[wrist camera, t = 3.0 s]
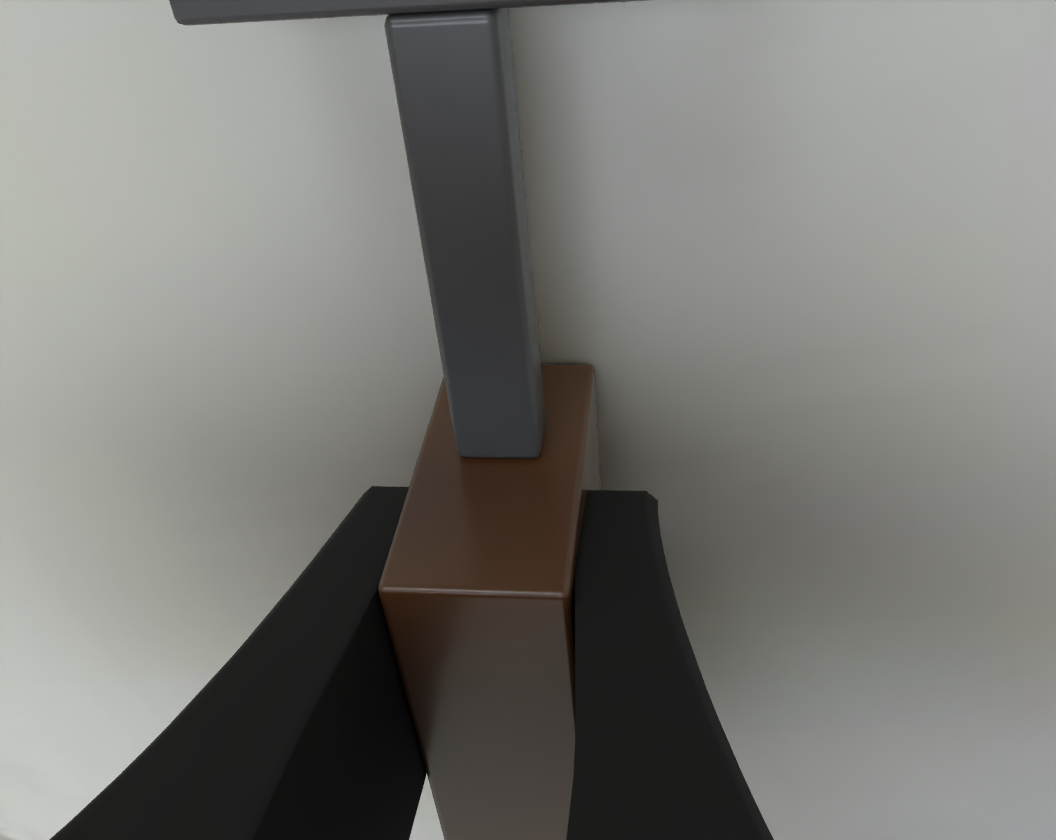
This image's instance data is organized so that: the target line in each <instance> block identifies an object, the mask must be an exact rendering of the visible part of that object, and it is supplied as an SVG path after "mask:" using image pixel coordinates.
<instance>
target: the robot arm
mask: <svg viewBox="0 0 1056 840" xmlns="http://www.w3.org/2000/svg"><path fill="white" fill-rule="evenodd" d="M408 490H409V487H379V486H372V487H371V488H370V489H369V490H367V491H366V492H365V493H364V494H363V495H362V497H361V498H360V499H359V501H358V502H357V503H356V504H355V506H354V507H353V508H352V510H351V511H350V512H349V514H348V515H347V516H346V517H345V519H344V520H343V521H342V523H341V524H340V525H339V527H338V528H337V529H336V530H335V532H334V533H333V534H332V536H331V537H330V538H329V539H328V541H327V542H326V543H325V545H324V546H323V547H322V548H321V550H320V551H319V552H318V554H317V555H316V556H315V557H314V559H313V560H312V561H311V562H310V564H309V565H308V566H307V567H306V569H305V570H304V571H303V572H302V574H301V575H300V576H299V577H298V579H297V580H296V581H295V582H294V584H293V585H292V586H291V587H290V589H289V590H288V591H287V592H286V593H285V595H284V596H283V597H282V598H281V599H280V601H279V602H278V603H277V604H276V605H275V607H274V608H273V609H272V610H271V611H270V613H269V614H268V615H267V616H266V617H265V618H264V620H263V621H262V622H261V623H260V624H259V626H258V627H257V628H256V629H255V630H254V632H253V633H252V634H251V635H250V636H249V637H248V639H247V640H246V641H245V642H244V643H243V645H242V646H241V647H240V648H239V649H238V650H237V652H236V653H235V654H234V655H233V656H232V657H231V658H230V660H229V661H228V662H227V663H226V664H225V665H224V666H223V667H222V668H221V669H220V671H219V672H218V673H217V674H216V675H215V676H214V677H213V678H212V679H211V680H210V681H209V682H208V684H207V685H206V686H205V687H204V688H203V689H202V690H201V691H200V692H199V693H198V694H197V695H196V696H195V698H194V699H193V700H192V701H191V702H190V703H189V704H188V705H187V706H186V707H185V708H184V709H183V711H182V712H181V713H180V714H179V715H178V716H177V717H176V718H175V719H174V720H173V721H172V722H171V724H170V725H169V726H168V727H167V728H166V729H165V730H164V731H163V732H162V733H161V734H160V735H159V736H158V737H157V738H156V739H155V740H154V741H153V742H152V743H151V744H150V745H149V746H148V747H147V748H146V749H145V750H144V751H143V752H142V753H141V754H140V755H139V756H138V757H137V758H136V759H135V760H134V761H133V762H132V763H131V764H130V765H129V766H128V767H127V768H126V769H125V770H124V771H123V772H122V773H121V774H120V775H119V776H118V777H117V778H116V779H115V780H114V781H113V782H112V783H111V784H109V785H108V786H107V787H106V788H105V789H104V790H103V791H102V792H101V793H100V794H99V795H98V796H97V797H96V798H95V799H94V800H92V801H91V802H90V803H89V804H88V805H87V806H86V807H85V808H84V809H83V810H82V811H81V812H80V813H79V814H78V815H77V816H75V817H74V818H73V819H72V820H71V821H70V822H69V823H68V824H67V825H66V826H64V827H63V828H62V829H61V830H60V831H59V832H58V833H56V834H55V835H54V836H53V837H52V838H51V839H50V840H409V837H410V834H411V830H412V826H413V822H414V819H415V815H416V811H417V807H418V804H419V800H420V796H421V792H422V789H423V785H424V781H425V777H426V773H427V772H426V768H425V764H424V760H423V757H422V753H421V749H420V745H419V742H418V738H417V734H416V730H415V727H414V723H413V719H412V715H411V712H410V708H409V704H408V701H407V697H406V693H405V689H404V686H403V682H402V678H401V674H400V671H399V667H398V663H397V659H396V656H395V652H394V648H393V644H392V641H391V637H390V633H389V630H388V626H387V622H386V618H385V615H384V611H383V607H382V603H381V600H380V596H379V592H378V586H379V583H380V580H381V577H382V573H383V570H384V567H385V564H386V560H387V557H388V554H389V551H390V548H391V544H392V541H393V538H394V535H395V531H396V528H397V525H398V522H399V519H400V515H401V512H402V509H403V506H404V502H405V499H406V496H407V493H408ZM575 714H576V732H575V753H574V774H573V785H572V794H571V802H570V811H569V820H568V829H567V837H566V840H774V839H773V837H772V835H771V833H770V831H769V829H768V827H767V825H766V823H765V821H764V819H763V817H762V815H761V813H760V811H759V809H758V806H757V804H756V802H755V800H754V798H753V796H752V794H751V792H750V789H749V787H748V785H747V783H746V781H745V779H744V776H743V774H742V772H741V770H740V768H739V765H738V763H737V761H736V758H735V756H734V754H733V751H732V749H731V747H730V744H729V742H728V740H727V737H726V735H725V733H724V730H723V728H722V726H721V723H720V721H719V719H718V716H717V714H716V711H715V709H714V706H713V704H712V701H711V699H710V696H709V694H708V691H707V689H706V686H705V683H704V680H703V678H702V675H701V672H700V669H699V667H698V664H697V661H696V658H695V655H694V653H693V650H692V647H691V644H690V641H689V639H688V636H687V633H686V630H685V627H684V624H683V621H682V618H681V615H680V611H679V608H678V605H677V602H676V598H675V594H674V591H673V587H672V583H671V580H670V576H669V572H668V569H667V564H666V560H665V555H664V551H663V546H662V540H661V535H660V527H659V519H658V500H656V499H655V498H654V497H653V496H652V495H650V494H649V493H648V492H647V491H609V490H588V492H587V497H586V503H585V508H584V514H583V520H582V526H581V533H580V539H579V546H578V553H577V560H576V567H575Z"/></svg>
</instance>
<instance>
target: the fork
mask: <svg viewBox="0 0 1056 840" xmlns="http://www.w3.org/2000/svg"><path fill="white" fill-rule="evenodd" d="M169 1H170V4H171V7H172V11H173V14H174V17H175V19H176V21H177V22H178V23H180V24H183V25H204V24H222V23H240V22H259V21H277V20H295V19H314V18H332V17H351V16H369V15H387V14H389V15H388V16H387V17H386V21H385V32H386V37H387V43H388V49H389V55H390V61H391V67H392V73H393V79H394V84H395V90H396V96H397V102H398V108H399V114H400V120H401V126H402V132H403V137H404V143H405V149H406V155H407V161H408V167H409V173H410V179H411V184H412V190H413V196H414V202H415V208H416V214H417V220H418V226H419V231H420V237H421V243H422V249H423V255H424V261H425V267H426V273H427V279H428V284H429V290H430V296H431V302H432V308H433V314H434V320H435V326H436V331H437V337H438V343H439V349H440V355H441V361H442V367H443V373H444V377H443V380H442V383H441V387H440V390H439V393H438V396H437V399H436V403H435V406H434V409H433V412H432V416H431V419H430V422H429V425H428V428H427V432H426V435H425V438H424V441H423V445H422V448H421V451H420V454H419V457H418V461H417V464H416V467H415V470H414V474H413V477H412V480H411V483H410V486H409V490H408V493H407V496H406V499H405V502H404V506H403V509H402V512H401V515H400V519H399V522H398V525H397V528H396V531H395V535H394V538H393V541H392V544H391V548H390V551H389V554H388V557H387V560H386V564H385V567H384V570H383V573H382V577H381V580H380V583H379V586H378V592H379V596H380V600H381V603H382V607H383V611H384V615H385V618H386V622H387V626H388V630H389V633H390V637H391V641H392V644H393V648H394V652H395V656H396V659H397V663H398V667H399V671H400V674H401V678H402V682H403V686H404V689H405V693H406V697H407V701H408V704H409V708H410V712H411V715H412V719H413V723H414V727H415V730H416V734H417V738H418V742H419V745H420V749H421V753H422V757H423V760H424V764H425V768H426V772H427V775H428V779H429V783H430V786H431V790H432V794H433V798H434V801H435V805H436V809H437V813H438V816H439V820H440V824H441V828H442V831H443V835H444V839H445V840H566V837H567V829H568V820H569V811H570V802H571V794H572V785H573V774H574V753H575V732H576V714H575V567H576V560H577V553H578V546H579V539H580V533H581V526H582V520H583V514H584V508H585V503H586V497H587V492H588V490H601V483H600V464H599V444H598V424H597V405H596V385H595V371H594V369H593V367H592V366H591V365H541V360H540V349H539V338H538V328H537V317H536V306H535V295H534V284H533V274H532V263H531V252H530V241H529V231H528V220H527V209H526V198H525V187H524V177H523V166H522V155H521V144H520V133H519V123H518V112H517V101H516V90H515V79H514V69H513V58H512V47H511V36H510V25H509V15H508V8H516V7H534V6H553V5H571V4H589V3H608V2H626V1H644V0H169Z"/></svg>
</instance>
